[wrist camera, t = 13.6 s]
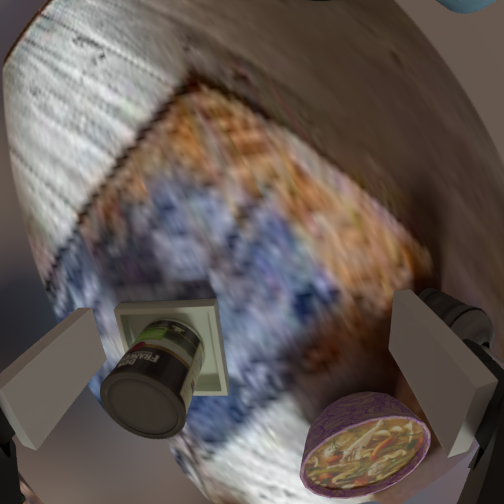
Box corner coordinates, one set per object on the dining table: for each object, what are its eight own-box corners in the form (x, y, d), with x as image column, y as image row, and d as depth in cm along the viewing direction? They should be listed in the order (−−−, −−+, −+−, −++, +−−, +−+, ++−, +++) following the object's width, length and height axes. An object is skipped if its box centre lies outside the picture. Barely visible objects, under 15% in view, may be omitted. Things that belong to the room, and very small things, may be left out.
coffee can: (127, 327, 44) (84, 379, 30) (187, 308, 43) (156, 363, 29) (158, 382, 46) (129, 443, 32) (217, 368, 45) (201, 434, 31)
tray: (121, 302, 44) (113, 309, 41) (217, 298, 43) (213, 305, 40) (142, 383, 47) (137, 392, 44) (229, 384, 46) (227, 395, 44)
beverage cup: (413, 277, 41) (494, 339, 22) (452, 280, 41) (536, 336, 22) (402, 323, 43) (467, 403, 24) (440, 324, 43) (511, 394, 23)
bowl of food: (423, 369, 45) (452, 410, 34) (384, 450, 49) (399, 493, 38) (309, 365, 45) (319, 415, 34) (284, 451, 50) (286, 499, 38)
